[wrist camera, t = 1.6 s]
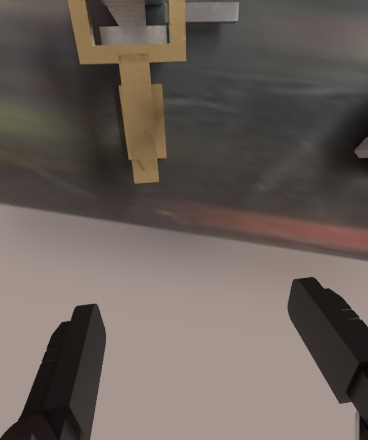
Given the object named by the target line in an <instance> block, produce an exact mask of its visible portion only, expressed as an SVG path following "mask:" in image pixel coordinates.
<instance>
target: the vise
mask: <svg viewBox="0 0 368 440" xmlns="http://www.w3.org/2000/svg"><path fill="white" fill-rule="evenodd" d="M100 2H101V3H102V5H106V6H107V8H108V9H109V11H110V12H111V14H112V16H113V17H114V19H115V20H116V22H117V23H118V25H119V26H113V27H99V30H100V36H101V43H102V45H133V44H167V33H166V26H146V15H145V5H151V4H162V3H163V0H100ZM163 12H164V25H169V19H168V3H164V5H163ZM238 14H239V2H210V3H185V24H234V23H236V22H237V21H238Z"/></svg>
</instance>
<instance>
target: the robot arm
mask: <svg viewBox="0 0 368 440" xmlns="http://www.w3.org/2000/svg"><path fill="white" fill-rule="evenodd" d="M288 313H289V316H290V319H291V321H292V323H293V324H294V326H295V328H296V329H297V331H298V333H299V335H300V336H301V338H302V340H303V341H304V343H305V345H306V346H307V348H308V350H309V352H310V353H311V355H312V357H313V359H314V360H315V362H316V364H317V365H318V367H319V369H320V371H321V372H322V374H323V376H324V378H325V379H326V381H327V382H328V384H329V386H330V388H331V389H332V391H333V393H334V394H335V396H336V398H337V400H338V401H339V403H340V404H341V403H348V402H352V403H353V404H354V406H355V407H356V409H357V411H356V414H355V440H368V327H367V325H366V324H365V323H364V322H363V321H362V320H360V319H359V316H358V315H357V314H356V313H355V312H354V311H353V310H352V309H351V307H350V306H349V305H348V304H347V303H346V301H345V300H344V299H343V298H342V297H341V296H339V295H338V294H336V293H335V292H333V291H332V290H330V289H329V288H328V289H324V288H323V287H322V286H321V284H320V283H319V282H318V281H317V280H316V279H315V278H314V277H309V278H301V279H294V280H293V282H292V287H291V291H290V296H289V301H288ZM105 345H106V332H105V327H104V324H103V321H102V317H101V314H100V311H99V308H98V305H97V304H88V305H81V306H76V307H75V309H74V312H73V315H72V318H71V321H67V322H62V323H61V324H60V325H59V327H58V328H57V329H56V330H55V332H54V333H53V334H52V336H51V338H50V341H49V344H48V346H47V351H46V352H45V354H44V357H43V359H42V364H41V365H40V368H39V370H38V373H37V375H36V378H35V381H34V383H33V386H32V388H31V391H30V394H29V396H28V399H27V402H26V404H25V407H24V410H23V412H22V414H21V416H20V418H19V420H18V421H17V422H16V423H14V424H13V425H12V426H11V427H10V428H9V429H8V430H7V431H6V432H5V433H4V434H3V435H2V437H1V438H0V440H90V437H91V431H92V424H93V418H94V412H95V406H96V400H97V394H98V388H99V381H100V376H101V370H102V364H103V357H104V351H105Z"/></svg>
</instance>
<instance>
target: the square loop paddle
mask: <svg viewBox="0 0 368 440" xmlns="http://www.w3.org/2000/svg"><path fill="white" fill-rule="evenodd" d="M68 4H69V9H70V15H71V20H72V25H73V30H74V35H75V40H76V45H77V50H78V56H79V61H80V64H82V65H93V64H119V68H120V75H121V83H122V85H119V92H120V100H121V107H122V114H123V121H124V129H125V136H126V143H127V151H128V158H129V160H132V166H133V174H134V182H135V183H150V182H159V175H158V162H157V158H167V157H166V141H165V126H164V110H163V94H162V84H151V78H150V66H149V63H160V62H185V61H186V27H185V0H168V19H169V40H170V44H133V45H95V40H94V34H93V28H92V22H91V16H90V10H89V4H88V0H68Z"/></svg>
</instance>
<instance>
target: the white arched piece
mask: <svg viewBox="0 0 368 440" xmlns="http://www.w3.org/2000/svg"><path fill="white" fill-rule="evenodd" d="M354 152H355V153H356V155H357V156H358V157H359V158H368V136H367V137H366V138H365V140H364V141H363V142H362V143H361V144H360V145H359V146H358V147H357V148H356V149H355V150H354Z"/></svg>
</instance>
